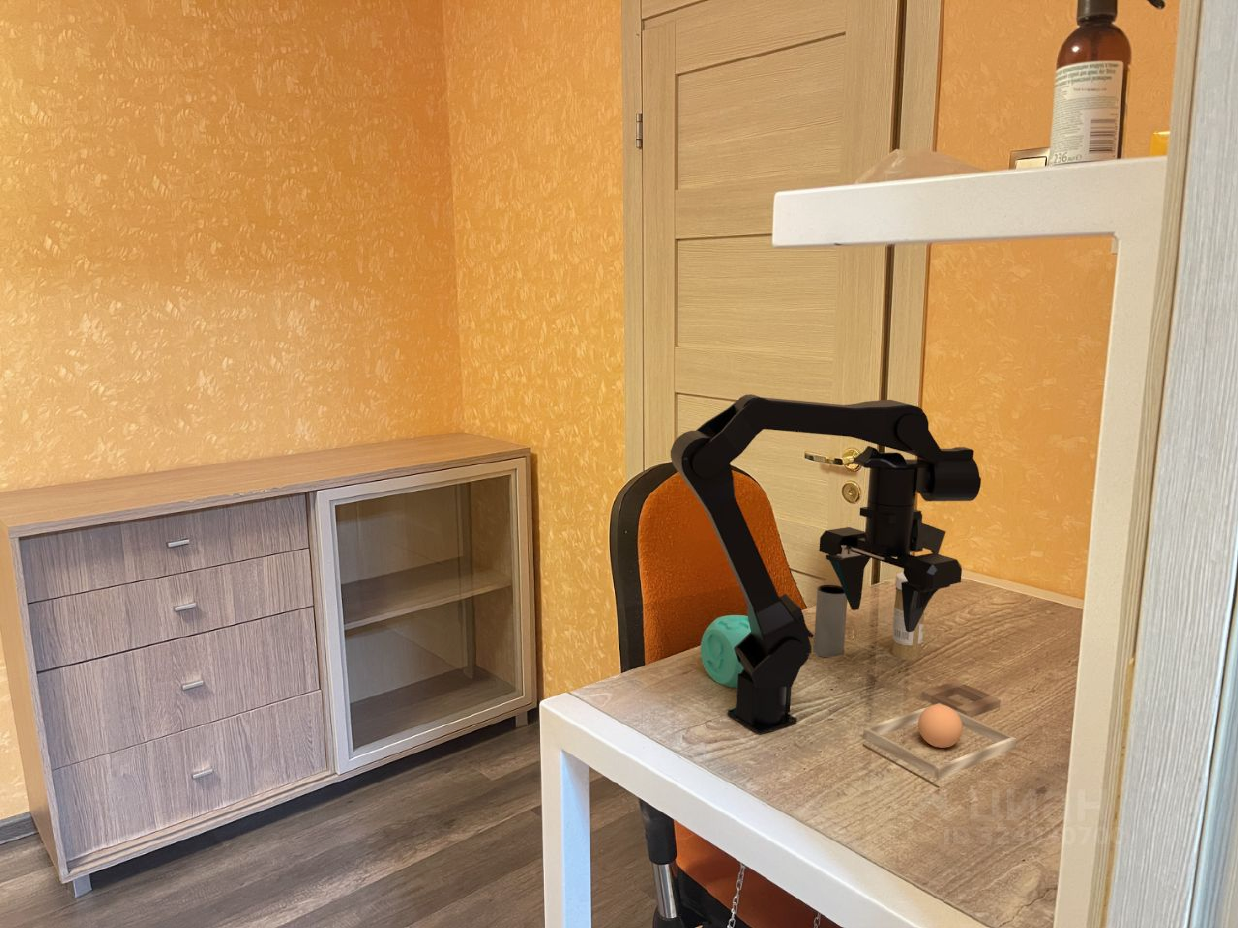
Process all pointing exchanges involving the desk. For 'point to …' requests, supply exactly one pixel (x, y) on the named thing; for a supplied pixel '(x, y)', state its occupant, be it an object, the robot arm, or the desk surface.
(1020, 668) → the desk surface
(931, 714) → the ball
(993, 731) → the tray
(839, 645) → the grey hollow cylinder
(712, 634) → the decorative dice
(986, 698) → the brown flat square frame
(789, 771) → the desk surface
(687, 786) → the desk surface
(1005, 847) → the desk surface
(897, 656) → the sprinkles bottle
